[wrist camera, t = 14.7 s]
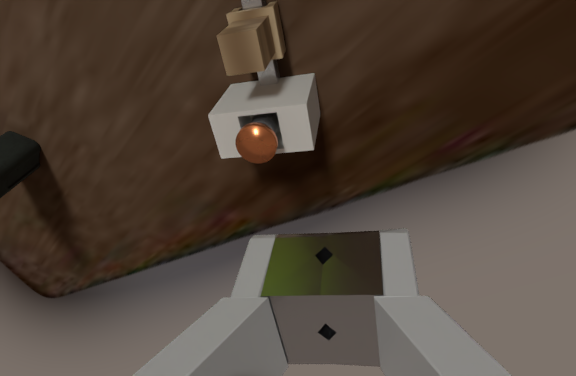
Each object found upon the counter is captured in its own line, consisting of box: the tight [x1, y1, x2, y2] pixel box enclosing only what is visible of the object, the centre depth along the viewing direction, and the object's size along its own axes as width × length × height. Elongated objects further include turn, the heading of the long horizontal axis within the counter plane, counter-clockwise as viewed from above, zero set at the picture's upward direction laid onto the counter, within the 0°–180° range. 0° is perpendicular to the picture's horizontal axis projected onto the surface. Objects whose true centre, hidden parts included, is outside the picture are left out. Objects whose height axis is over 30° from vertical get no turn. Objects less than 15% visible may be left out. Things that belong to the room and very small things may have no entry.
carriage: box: [217, 1, 286, 76], centre depth 39 cm, size 5×5×9 cm
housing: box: [208, 73, 320, 159], centre depth 44 cm, size 10×5×9 cm, turn 100°
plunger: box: [235, 112, 279, 163], centre depth 41 cm, size 4×4×6 cm
